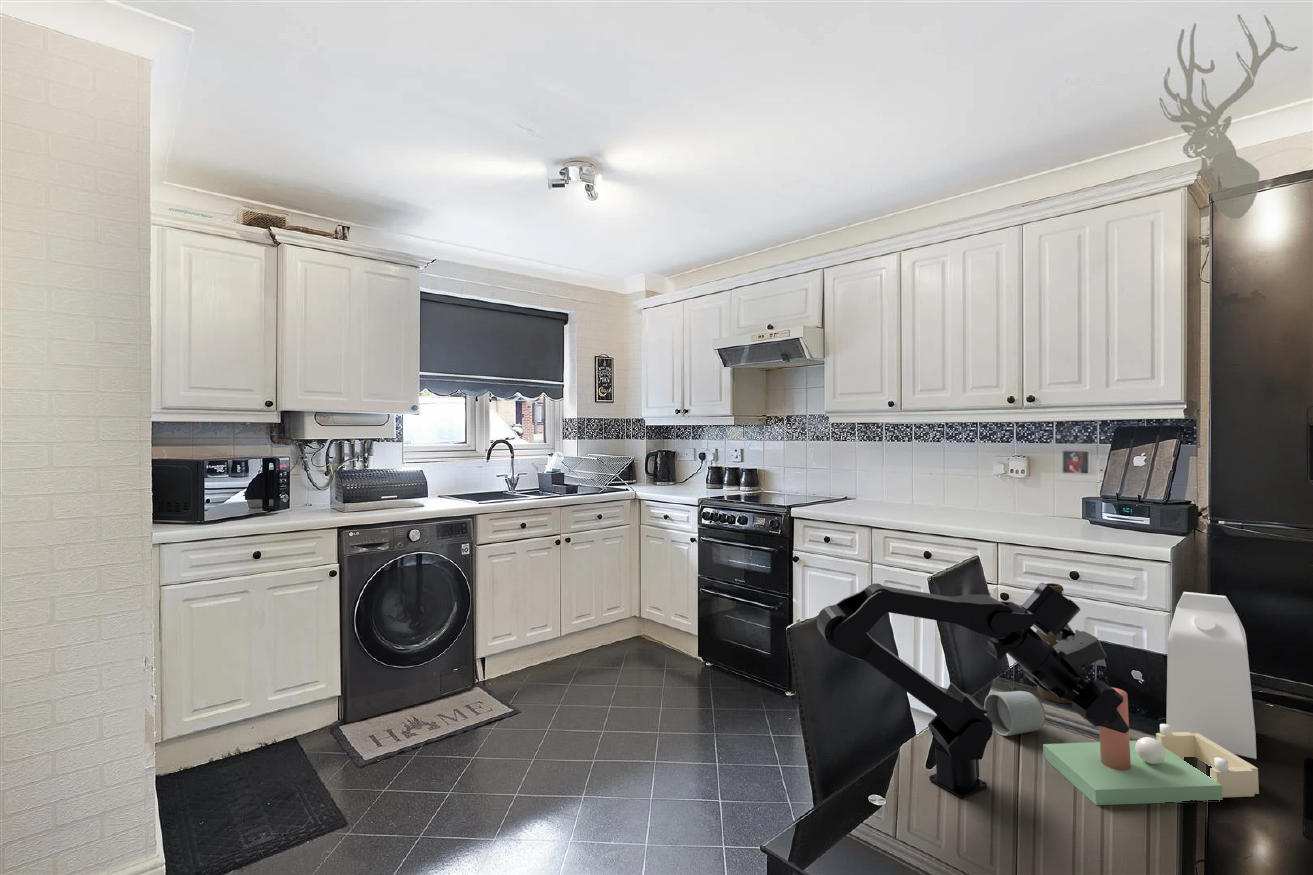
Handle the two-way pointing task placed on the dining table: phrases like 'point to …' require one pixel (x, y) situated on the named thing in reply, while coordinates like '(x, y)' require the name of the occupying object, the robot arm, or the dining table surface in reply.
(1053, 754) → the pitch
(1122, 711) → the salmon pink cylinder
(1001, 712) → the ceramic mug
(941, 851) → the dining table surface
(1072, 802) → the dining table surface
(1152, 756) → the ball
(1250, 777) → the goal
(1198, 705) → the milk
